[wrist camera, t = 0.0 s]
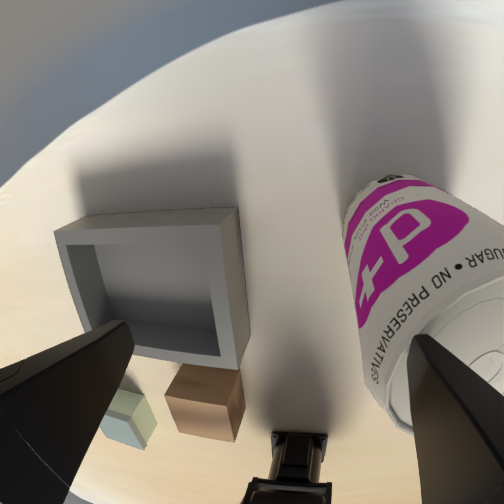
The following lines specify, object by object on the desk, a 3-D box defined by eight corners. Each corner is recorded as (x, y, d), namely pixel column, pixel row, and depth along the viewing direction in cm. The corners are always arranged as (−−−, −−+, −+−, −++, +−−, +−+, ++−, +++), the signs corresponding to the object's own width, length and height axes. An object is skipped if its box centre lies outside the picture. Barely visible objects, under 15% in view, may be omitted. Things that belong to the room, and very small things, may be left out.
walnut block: (245, 407, 31) (234, 442, 26) (194, 399, 32) (178, 432, 28) (240, 368, 29) (226, 406, 24) (183, 361, 30) (164, 395, 26)
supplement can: (318, 224, 22) (310, 376, 8) (403, 148, 19) (543, 190, 5) (384, 299, 23) (423, 467, 9) (463, 234, 20) (580, 356, 6)
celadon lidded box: (158, 423, 36) (143, 450, 32) (122, 413, 38) (106, 437, 33) (145, 394, 34) (127, 422, 30) (107, 384, 35) (88, 408, 31)
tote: (250, 335, 27) (238, 369, 23) (113, 320, 30) (89, 345, 26) (238, 206, 23) (219, 224, 19) (85, 215, 26) (53, 231, 22)
